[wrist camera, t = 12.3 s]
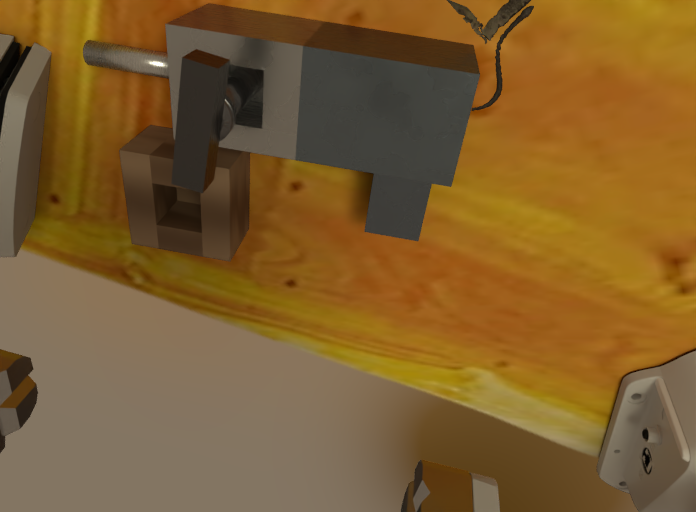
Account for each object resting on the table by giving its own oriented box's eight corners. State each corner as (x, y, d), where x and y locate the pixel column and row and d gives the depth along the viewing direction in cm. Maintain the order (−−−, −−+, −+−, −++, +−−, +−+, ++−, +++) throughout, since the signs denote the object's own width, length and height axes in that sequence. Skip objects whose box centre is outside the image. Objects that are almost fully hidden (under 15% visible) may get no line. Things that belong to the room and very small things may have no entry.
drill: (473, 45, 35) (479, 74, 30) (432, 214, 43) (431, 263, 37) (109, -13, 37) (47, 4, 31) (131, 161, 44) (84, 201, 38)
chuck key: (282, 28, 35) (228, 71, 26) (263, 128, 38) (211, 196, 30) (240, 15, 34) (171, 54, 26) (226, 116, 38) (162, 181, 29)
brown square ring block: (248, 228, 46) (230, 261, 42) (159, 212, 46) (131, 243, 42) (250, 141, 41) (229, 169, 37) (150, 125, 42) (119, 150, 38)
